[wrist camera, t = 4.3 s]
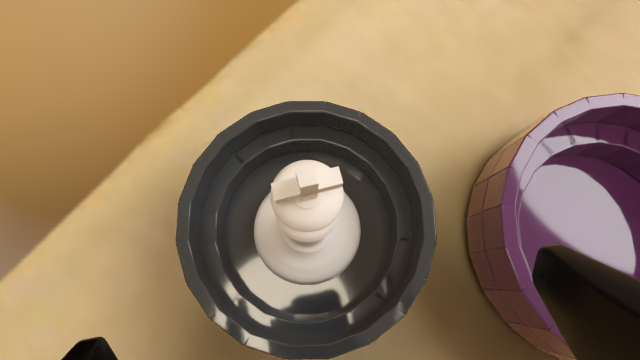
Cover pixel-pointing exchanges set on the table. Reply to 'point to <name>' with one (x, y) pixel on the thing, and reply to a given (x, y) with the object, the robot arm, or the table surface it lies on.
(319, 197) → the chess piece
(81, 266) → the table surface
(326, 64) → the table surface
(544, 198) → the plum bowl
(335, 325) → the charcoal bowl
